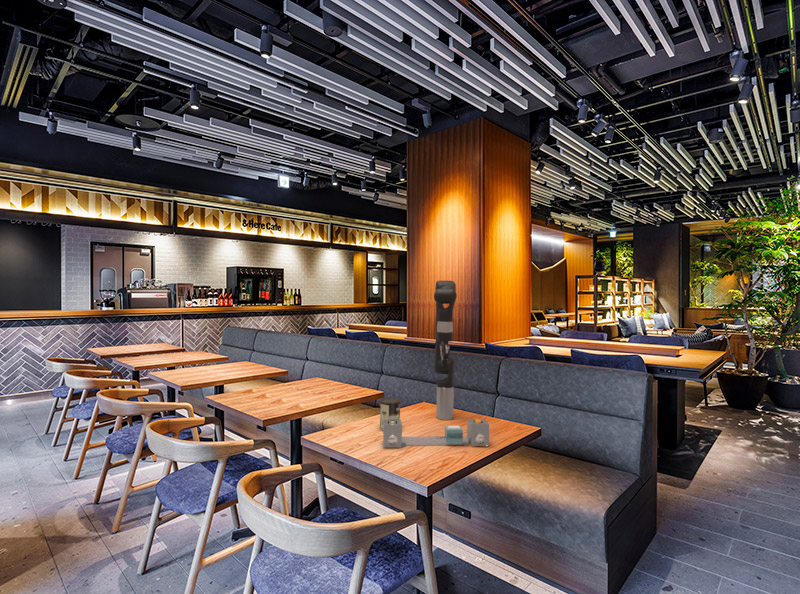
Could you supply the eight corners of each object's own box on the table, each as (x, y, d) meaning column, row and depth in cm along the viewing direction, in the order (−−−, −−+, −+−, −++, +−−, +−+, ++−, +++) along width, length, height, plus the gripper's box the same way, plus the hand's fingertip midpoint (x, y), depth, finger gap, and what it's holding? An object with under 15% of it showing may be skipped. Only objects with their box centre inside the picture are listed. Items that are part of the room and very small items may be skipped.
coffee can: (401, 425, 214) (401, 398, 214) (398, 432, 203) (398, 403, 203) (381, 424, 215) (382, 397, 215) (377, 430, 205) (378, 402, 205)
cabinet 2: (467, 440, 193) (467, 419, 193) (483, 440, 193) (484, 418, 193) (471, 447, 184) (471, 424, 184) (489, 447, 185) (489, 424, 185)
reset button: (474, 428, 190) (474, 418, 190) (480, 428, 191) (480, 418, 191) (475, 430, 188) (475, 420, 188) (481, 430, 188) (481, 420, 188)
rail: (400, 442, 190) (400, 435, 190) (465, 441, 192) (465, 434, 192) (401, 446, 184) (401, 440, 184) (468, 446, 186) (468, 439, 186)
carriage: (444, 439, 191) (445, 425, 191) (459, 438, 191) (460, 424, 191) (447, 443, 185) (447, 428, 185) (462, 443, 186) (462, 428, 186)
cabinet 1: (382, 441, 190) (383, 418, 190) (400, 441, 191) (400, 418, 191) (383, 448, 181) (383, 424, 181) (401, 448, 182) (402, 424, 182)
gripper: (434, 329, 204) (434, 365, 204) (439, 332, 191) (438, 369, 191) (450, 329, 205) (449, 365, 205) (455, 332, 191) (455, 369, 192)
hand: (444, 367), depth 198 cm, fingers closed
